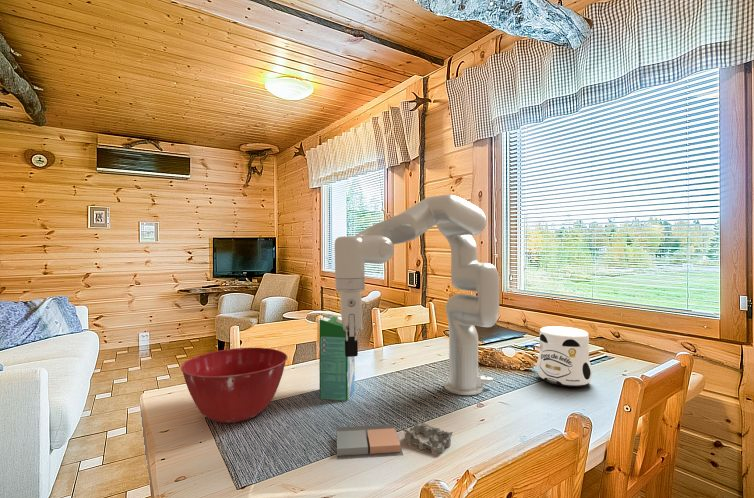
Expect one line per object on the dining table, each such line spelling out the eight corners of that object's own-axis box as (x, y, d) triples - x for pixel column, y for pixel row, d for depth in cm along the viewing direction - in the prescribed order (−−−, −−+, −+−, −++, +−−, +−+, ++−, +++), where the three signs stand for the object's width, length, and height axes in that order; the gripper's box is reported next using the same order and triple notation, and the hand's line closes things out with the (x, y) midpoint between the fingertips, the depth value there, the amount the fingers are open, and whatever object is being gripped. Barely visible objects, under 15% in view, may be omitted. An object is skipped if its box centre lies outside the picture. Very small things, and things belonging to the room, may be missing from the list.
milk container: (541, 388, 128) (541, 335, 128) (533, 372, 145) (533, 324, 144) (598, 393, 124) (599, 338, 124) (583, 375, 141) (583, 326, 140)
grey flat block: (365, 429, 95) (367, 446, 87) (365, 436, 95) (367, 454, 87) (336, 431, 94) (337, 448, 86) (336, 438, 94) (337, 456, 86)
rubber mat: (393, 426, 102) (393, 424, 102) (403, 457, 87) (403, 455, 87) (336, 429, 100) (336, 427, 100) (337, 461, 85) (337, 459, 85)
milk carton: (347, 401, 118) (346, 320, 118) (319, 398, 120) (319, 319, 120) (354, 390, 127) (354, 315, 127) (328, 388, 129) (328, 314, 128)
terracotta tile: (394, 428, 96) (400, 444, 88) (394, 435, 96) (400, 452, 88) (367, 429, 95) (370, 446, 87) (367, 436, 95) (370, 454, 87)
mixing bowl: (187, 401, 118) (186, 351, 118) (281, 388, 128) (281, 342, 128) (174, 446, 92) (173, 382, 92) (294, 426, 102) (293, 368, 102)
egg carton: (400, 445, 93) (400, 428, 93) (418, 433, 99) (418, 417, 99) (438, 460, 86) (438, 442, 86) (455, 447, 92) (455, 430, 92)
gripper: (367, 287, 91) (368, 364, 91) (362, 281, 106) (363, 346, 106) (335, 288, 90) (337, 365, 91) (335, 281, 105) (336, 348, 105)
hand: (351, 355), depth 98 cm, fingers closed
